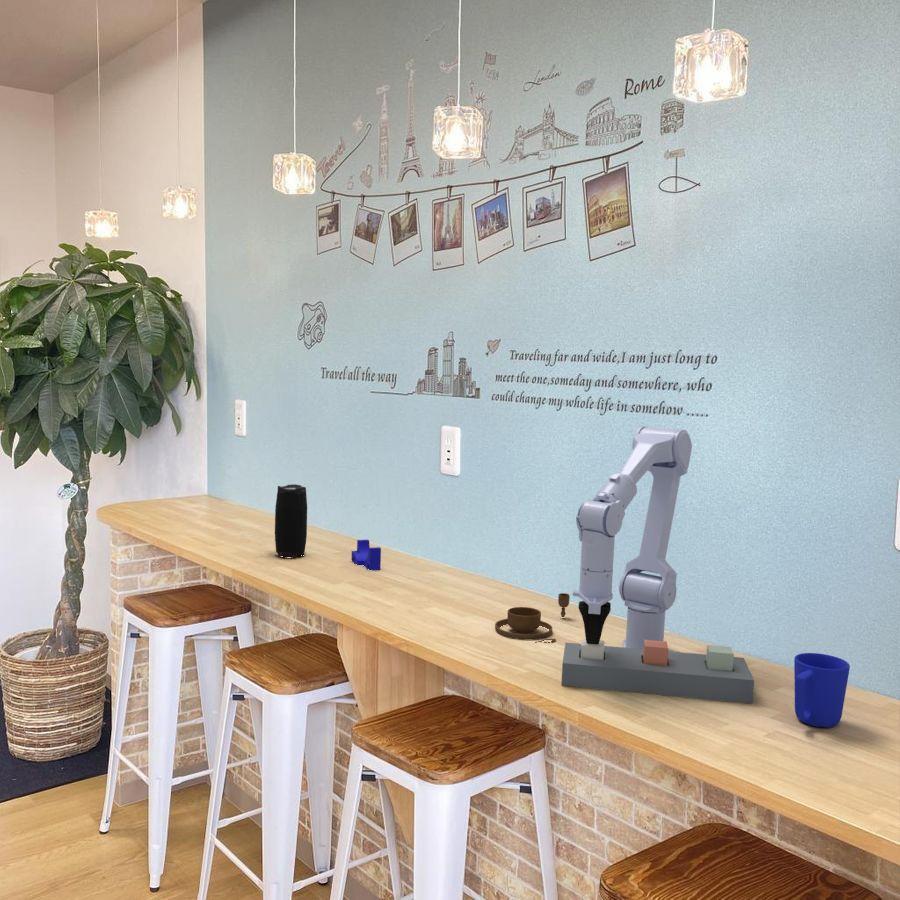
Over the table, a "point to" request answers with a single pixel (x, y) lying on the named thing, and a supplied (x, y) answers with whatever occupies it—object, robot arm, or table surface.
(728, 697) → the button panel
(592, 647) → the white cube
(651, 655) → the terracotta button
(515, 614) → the place setting
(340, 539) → the table surface
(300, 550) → the portable speaker
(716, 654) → the sage button
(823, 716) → the mug
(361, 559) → the blue blocky piece
